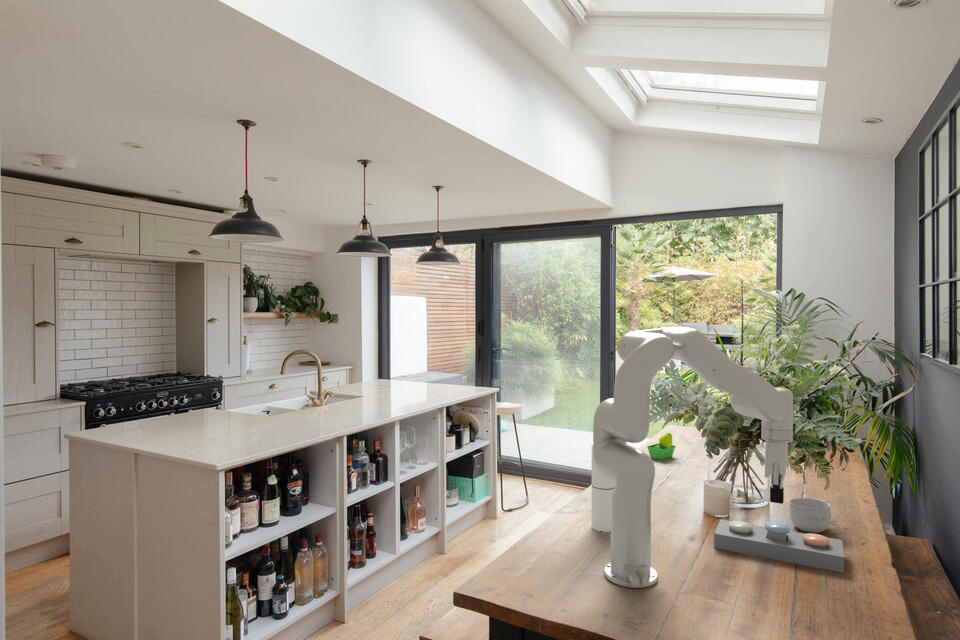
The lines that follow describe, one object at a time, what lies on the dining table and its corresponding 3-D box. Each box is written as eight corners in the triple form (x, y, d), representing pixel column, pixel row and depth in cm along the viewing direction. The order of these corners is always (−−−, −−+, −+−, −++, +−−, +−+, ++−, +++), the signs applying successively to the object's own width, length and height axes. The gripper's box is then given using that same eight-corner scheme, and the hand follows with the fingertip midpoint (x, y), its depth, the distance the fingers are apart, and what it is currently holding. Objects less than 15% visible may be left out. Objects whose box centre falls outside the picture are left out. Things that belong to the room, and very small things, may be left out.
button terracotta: (829, 551, 152) (829, 536, 152) (829, 559, 147) (829, 544, 146) (802, 546, 155) (803, 531, 155) (802, 554, 150) (802, 539, 149)
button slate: (790, 538, 156) (790, 524, 156) (789, 546, 151) (789, 531, 151) (765, 534, 159) (765, 519, 159) (763, 542, 154) (764, 527, 154)
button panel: (842, 554, 153) (842, 540, 153) (843, 573, 142) (844, 557, 142) (720, 532, 168) (720, 519, 168) (714, 547, 158) (714, 533, 157)
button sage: (753, 537, 161) (753, 523, 161) (751, 545, 156) (751, 530, 155) (730, 533, 164) (730, 519, 164) (727, 540, 159) (727, 526, 158)
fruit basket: (661, 453, 257) (661, 428, 257) (679, 457, 250) (679, 431, 250) (646, 458, 250) (646, 432, 250) (664, 462, 243) (664, 435, 243)
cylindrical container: (588, 529, 171) (588, 445, 170) (595, 521, 177) (595, 440, 176) (612, 533, 167) (612, 448, 167) (618, 525, 174) (618, 442, 173)
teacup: (809, 538, 164) (809, 510, 164) (780, 524, 174) (780, 497, 174) (848, 532, 168) (848, 505, 168) (817, 519, 178) (817, 493, 178)
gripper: (763, 427, 163) (763, 491, 163) (759, 438, 150) (759, 508, 150) (793, 430, 159) (793, 496, 160) (792, 441, 146) (791, 513, 147)
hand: (776, 501), depth 155 cm, fingers closed
